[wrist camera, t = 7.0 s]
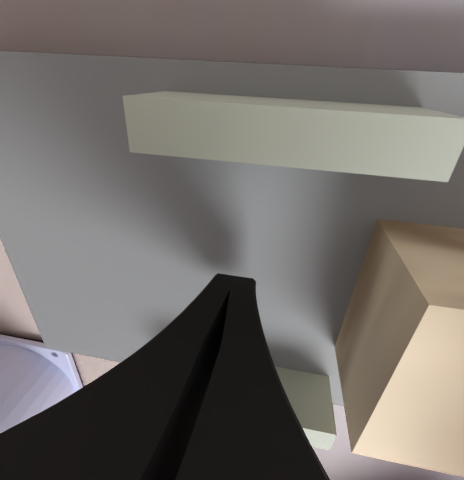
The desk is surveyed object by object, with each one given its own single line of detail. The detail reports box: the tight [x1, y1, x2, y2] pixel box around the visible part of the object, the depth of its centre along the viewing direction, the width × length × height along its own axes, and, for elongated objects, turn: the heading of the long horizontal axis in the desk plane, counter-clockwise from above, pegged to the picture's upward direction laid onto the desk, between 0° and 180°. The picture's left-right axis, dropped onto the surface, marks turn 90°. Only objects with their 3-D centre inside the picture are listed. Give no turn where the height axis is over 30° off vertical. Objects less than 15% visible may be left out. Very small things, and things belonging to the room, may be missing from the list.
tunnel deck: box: [0, 51, 464, 451], centre depth 11 cm, size 28×14×5 cm, turn 87°
